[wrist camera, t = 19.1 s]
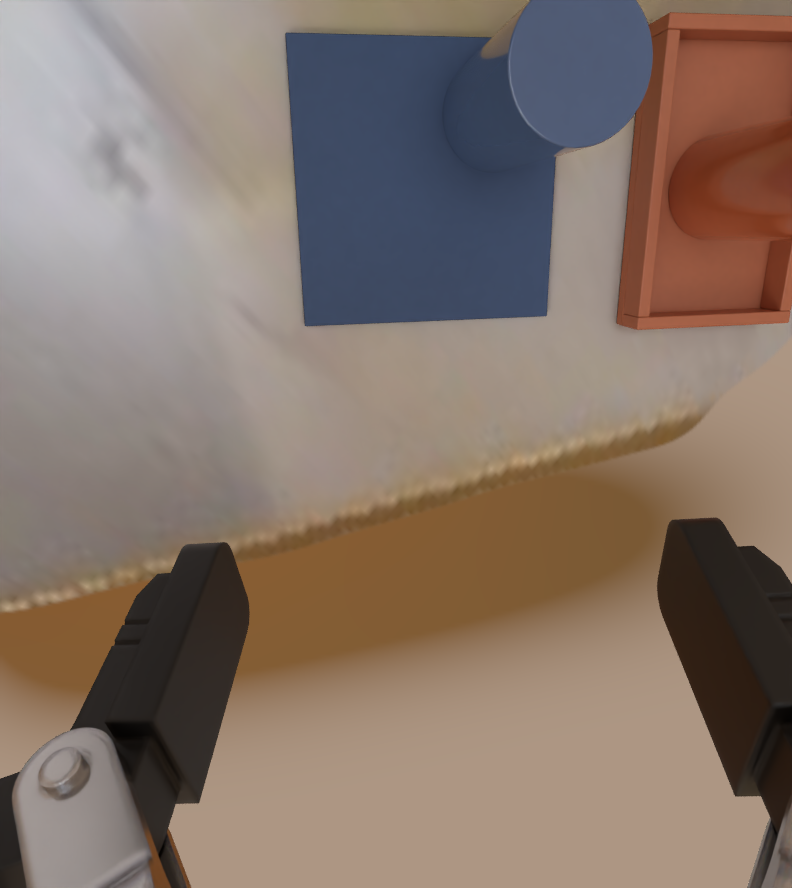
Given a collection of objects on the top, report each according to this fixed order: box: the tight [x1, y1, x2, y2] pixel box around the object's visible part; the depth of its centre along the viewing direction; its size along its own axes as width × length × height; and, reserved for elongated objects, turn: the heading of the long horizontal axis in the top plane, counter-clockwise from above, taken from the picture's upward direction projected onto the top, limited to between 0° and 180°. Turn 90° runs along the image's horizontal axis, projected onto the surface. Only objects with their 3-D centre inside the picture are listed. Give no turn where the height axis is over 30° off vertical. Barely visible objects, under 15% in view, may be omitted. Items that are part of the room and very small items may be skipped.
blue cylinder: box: [442, 0, 653, 173], centre depth 24 cm, size 5×5×9 cm
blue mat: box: [286, 33, 556, 326], centre depth 29 cm, size 12×12×1 cm
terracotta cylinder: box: [669, 116, 792, 242], centre depth 26 cm, size 5×5×9 cm
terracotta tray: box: [617, 12, 792, 330], centre depth 30 cm, size 13×8×2 cm, turn 1°
